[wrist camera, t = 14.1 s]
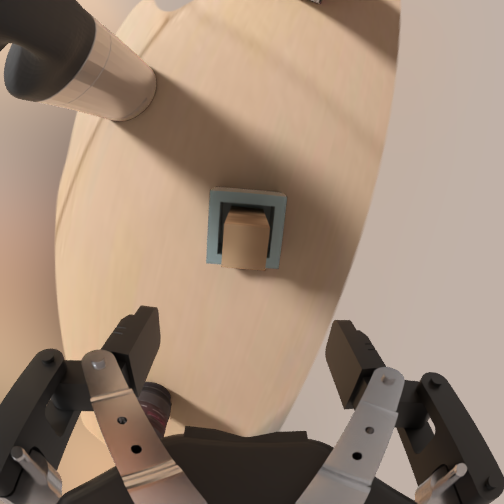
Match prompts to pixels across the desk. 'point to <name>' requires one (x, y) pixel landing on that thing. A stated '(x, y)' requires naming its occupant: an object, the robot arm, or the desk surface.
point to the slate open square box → (248, 198)
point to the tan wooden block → (245, 239)
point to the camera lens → (155, 406)
